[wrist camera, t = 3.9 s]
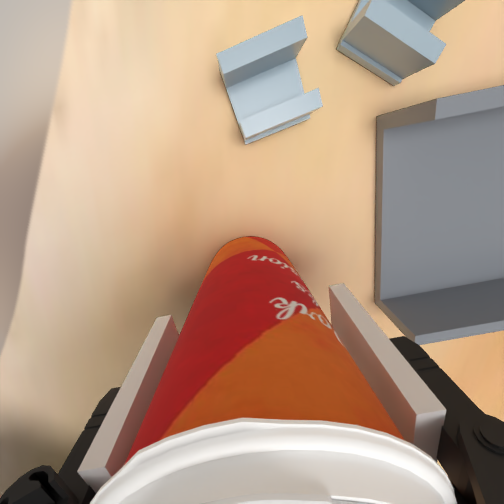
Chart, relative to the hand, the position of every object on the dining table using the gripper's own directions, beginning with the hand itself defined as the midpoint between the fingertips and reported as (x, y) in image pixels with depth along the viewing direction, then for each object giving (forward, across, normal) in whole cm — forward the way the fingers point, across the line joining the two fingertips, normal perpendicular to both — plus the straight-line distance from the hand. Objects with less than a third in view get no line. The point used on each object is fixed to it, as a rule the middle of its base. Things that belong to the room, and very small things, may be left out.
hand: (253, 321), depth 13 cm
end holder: (+6, +16, +2) cm, 17 cm away
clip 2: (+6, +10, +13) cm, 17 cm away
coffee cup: (+6, 0, 0) cm, 6 cm away
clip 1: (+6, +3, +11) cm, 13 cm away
